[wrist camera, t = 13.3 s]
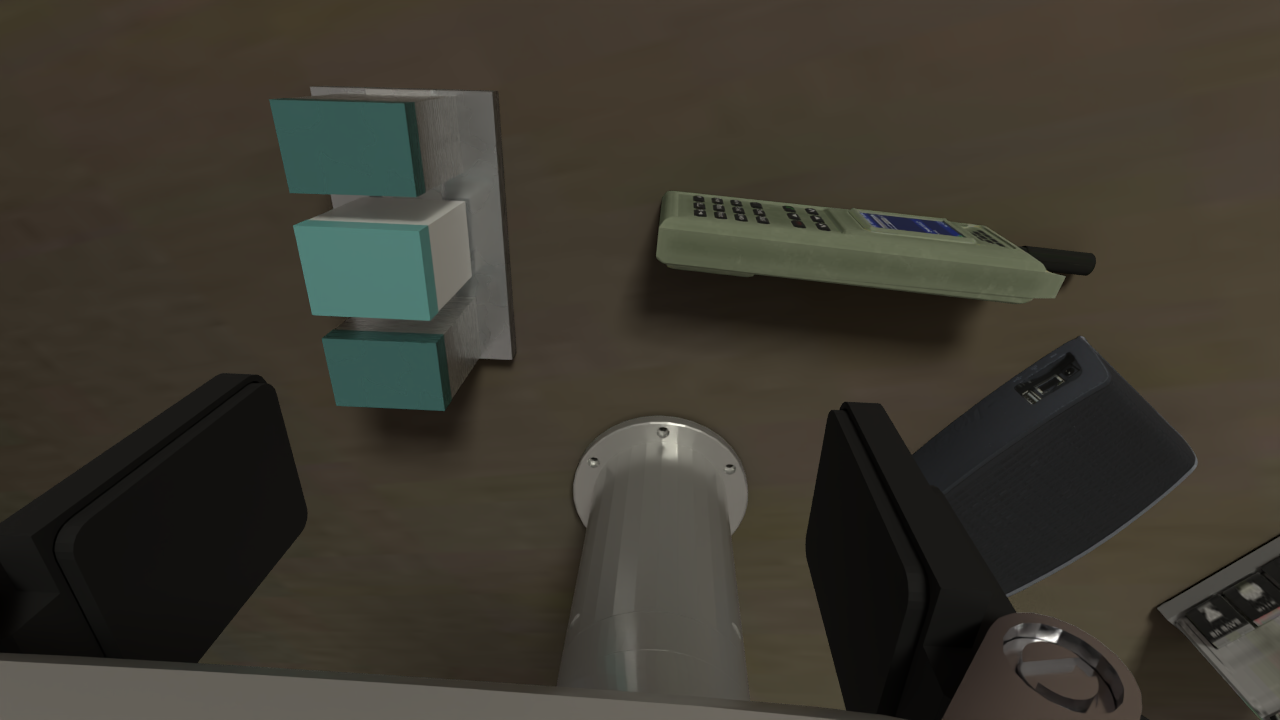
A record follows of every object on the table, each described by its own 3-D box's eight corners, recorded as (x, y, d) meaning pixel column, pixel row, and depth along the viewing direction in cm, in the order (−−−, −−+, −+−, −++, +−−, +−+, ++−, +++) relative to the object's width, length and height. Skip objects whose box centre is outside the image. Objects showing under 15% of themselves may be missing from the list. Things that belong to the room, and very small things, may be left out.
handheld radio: (664, 180, 36) (1090, 228, 36) (658, 235, 38) (1066, 281, 38) (660, 210, 30) (1170, 267, 30) (653, 273, 32) (1137, 328, 32)
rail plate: (516, 352, 41) (481, 416, 34) (369, 345, 42) (302, 407, 34) (497, 90, 34) (448, 99, 27) (321, 86, 35) (224, 92, 27)
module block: (472, 276, 37) (430, 320, 31) (374, 271, 38) (312, 314, 31) (465, 200, 35) (419, 231, 29) (361, 196, 36) (293, 225, 29)
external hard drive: (1184, 440, 42) (1233, 476, 38) (950, 594, 49) (973, 637, 46) (1069, 324, 39) (1110, 351, 35) (837, 506, 46) (851, 544, 42)
